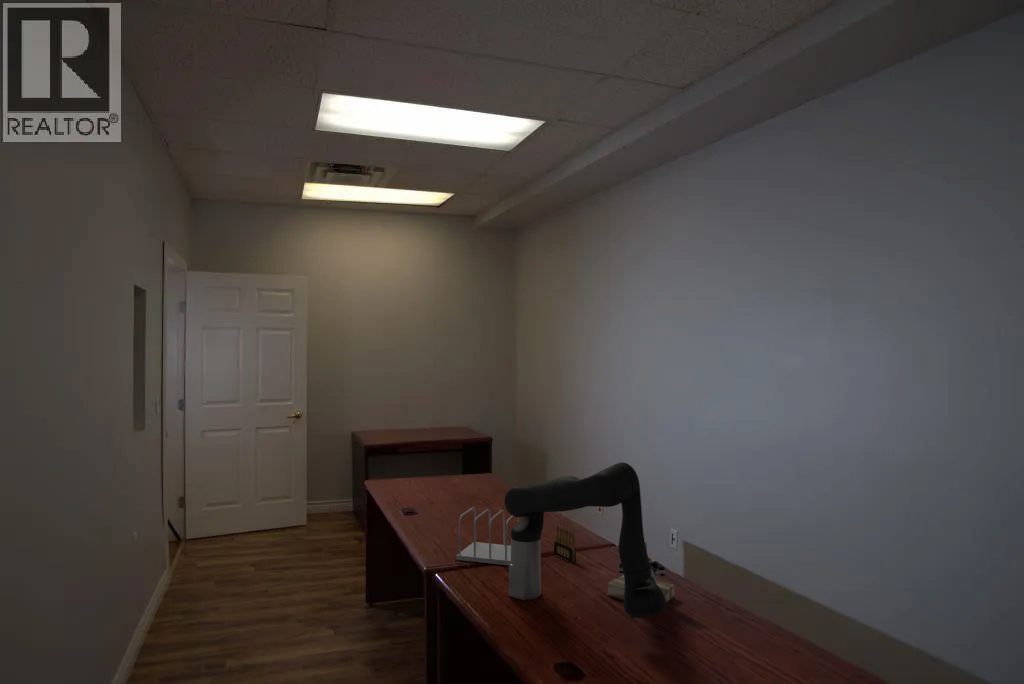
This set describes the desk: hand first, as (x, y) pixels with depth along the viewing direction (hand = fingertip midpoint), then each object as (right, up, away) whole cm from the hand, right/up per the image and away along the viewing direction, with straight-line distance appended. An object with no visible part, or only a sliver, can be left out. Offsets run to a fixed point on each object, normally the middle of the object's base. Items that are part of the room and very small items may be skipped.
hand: (641, 559), depth 200 cm
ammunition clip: (-21, -11, +32) cm, 40 cm away
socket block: (-1, -10, -3) cm, 11 cm away
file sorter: (-45, -11, +34) cm, 57 cm away
